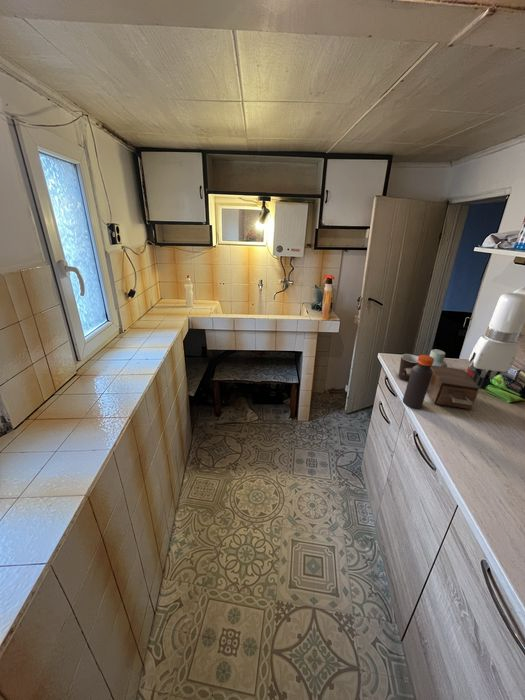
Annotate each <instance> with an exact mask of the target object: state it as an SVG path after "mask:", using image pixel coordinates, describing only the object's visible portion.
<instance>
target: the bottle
mask: <svg viewBox="0 0 525 700" xmlns="http://www.w3.org/2000/svg"><path fill="white" fill-rule="evenodd" d="M433 362H434V358H432V357H430V355H427V354H419V355H418V361H417V363H418V364H417V365H415V366H413V368H412V371H411V374H410V377H409V381H408V382H407V384H406V386H405V387H406V388H405V391H404V394H403V398H402V403H403V405H405V406H406V407H408V408H411V409H420V408H422V406H423V404H424V401H425V397H426V394H427V392H428V391H427V389H428V386H429V383H430V380H431V377H432V374H433V371H432V370H431V368H430V367H431V366H432V364H433Z"/></svg>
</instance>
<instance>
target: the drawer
mask: <svg viewBox="0 0 525 700" xmlns="http://www.w3.org/2000/svg"><path fill="white" fill-rule="evenodd" d="M478 394H479V390H478V391H477V390H473V389H469V388H462V387H456V386H449V385H443V386H442V389H441V392H440V395H439V397H438V400H437V403H438V404H437V405H439V404H442V405H441V406H446V405H448V406H447V407H452V406H455V407H454V408H458V407H461V408H460V409H465V408H467V409H466V410H471V409H472V407H473V405H474V403H475V400H476V398H477V396H478Z"/></svg>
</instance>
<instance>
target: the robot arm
mask: <svg viewBox="0 0 525 700" xmlns="http://www.w3.org/2000/svg"><path fill="white" fill-rule="evenodd" d="M495 305H496V306H495V308H494V311H493V313H492V316H491V318H490V321H489V324H488V327H487V328H486V331H485V334H484V335H481V336H480V337H479V339H477V342H476V343H475V345H474V347H473V349H472V350H471V353H470V355H469V358H468V362H469V364H468V365H467V369H468V368H469V369H470V370H473V371H476V372H477V373H478V377H477V379H476V382H475V383H476V385H477V387H478V388H479V390H486V389H487V387H489V384H490V382H491V381H492V380H493V379H494V378H495V377H497V376H500V375H507V374H509V371H510V370H511V368H512V367H513V365H514V362H515V359H516V356H517V352H518V349H519V347H518V346H519V342H518V340H519V339H520V338H521V339H523V338H524V336H525V334H524V333H523V332H522V330H523V327H524V325H525V285H523V286H522V287H519V288H518V289H516V290H514V291H513V292H505V293H503V294H501V295H500V296H499V298H498V300H497V302H496V304H495ZM470 362H471V363H470Z"/></svg>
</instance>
